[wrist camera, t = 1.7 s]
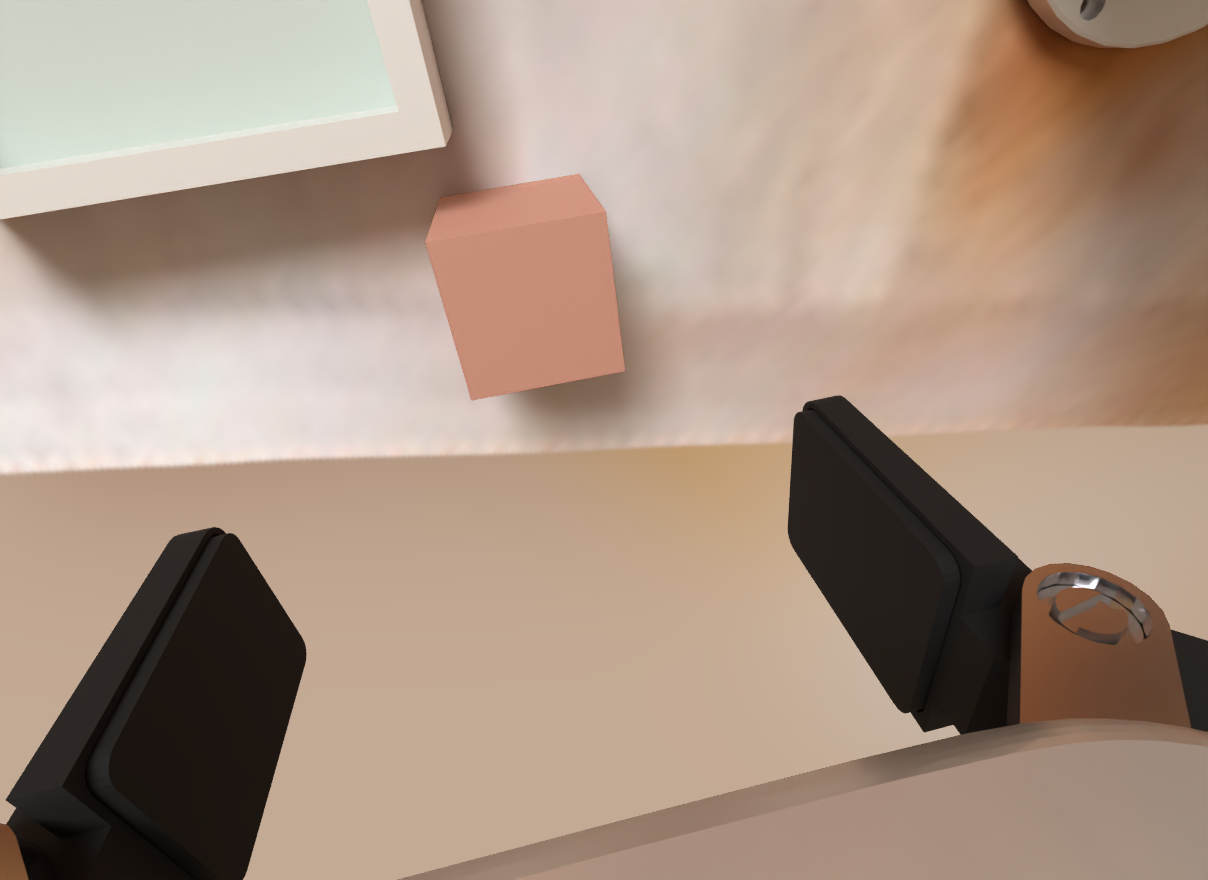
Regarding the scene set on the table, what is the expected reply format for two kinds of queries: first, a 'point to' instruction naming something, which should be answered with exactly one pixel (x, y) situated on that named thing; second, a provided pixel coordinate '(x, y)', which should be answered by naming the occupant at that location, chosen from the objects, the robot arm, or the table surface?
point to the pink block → (527, 285)
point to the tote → (205, 93)
